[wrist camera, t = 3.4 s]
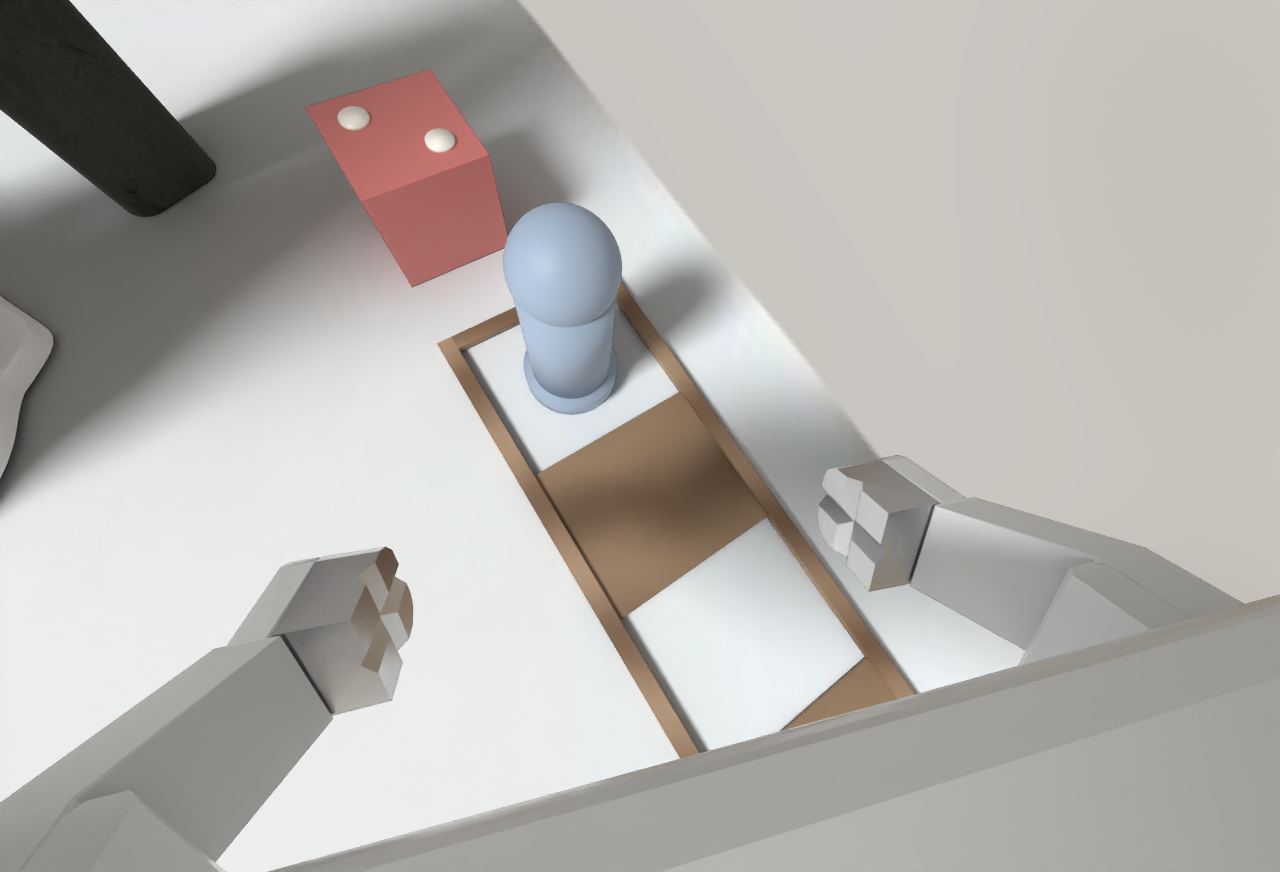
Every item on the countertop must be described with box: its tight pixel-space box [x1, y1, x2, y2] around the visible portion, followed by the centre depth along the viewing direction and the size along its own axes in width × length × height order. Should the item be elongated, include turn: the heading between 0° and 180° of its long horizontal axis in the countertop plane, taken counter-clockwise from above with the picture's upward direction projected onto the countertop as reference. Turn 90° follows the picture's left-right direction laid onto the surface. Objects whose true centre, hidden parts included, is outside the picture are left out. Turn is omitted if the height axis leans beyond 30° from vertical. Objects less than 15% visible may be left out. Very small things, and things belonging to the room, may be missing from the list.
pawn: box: [503, 202, 622, 414], centre depth 19 cm, size 5×5×11 cm
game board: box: [437, 282, 915, 759], centre depth 22 cm, size 34×11×1 cm, turn 33°
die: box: [305, 69, 508, 287], centre depth 24 cm, size 6×6×6 cm
